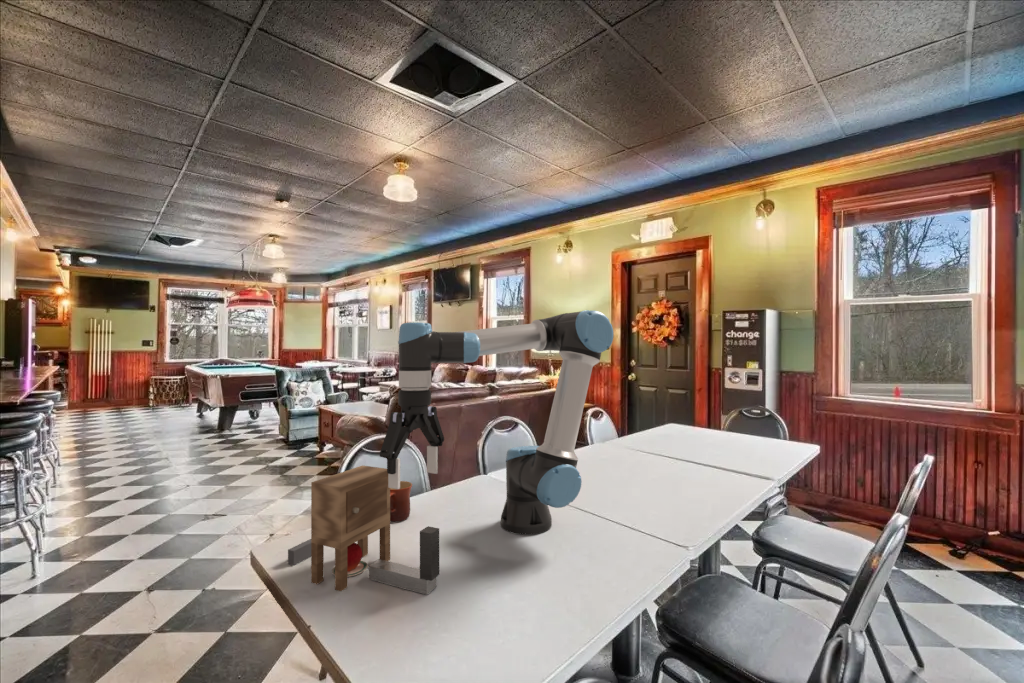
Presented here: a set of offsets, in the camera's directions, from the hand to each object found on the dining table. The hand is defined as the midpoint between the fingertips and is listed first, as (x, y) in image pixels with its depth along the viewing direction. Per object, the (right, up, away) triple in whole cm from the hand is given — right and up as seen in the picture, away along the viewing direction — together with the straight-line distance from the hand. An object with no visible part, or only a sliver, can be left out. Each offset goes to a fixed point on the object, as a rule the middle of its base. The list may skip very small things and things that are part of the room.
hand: (414, 480), depth 104 cm
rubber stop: (-30, -22, +9) cm, 38 cm away
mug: (-13, -23, +33) cm, 42 cm away
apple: (-16, -22, +2) cm, 28 cm away
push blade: (-1, -22, -4) cm, 22 cm away
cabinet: (-15, -22, +2) cm, 27 cm away
